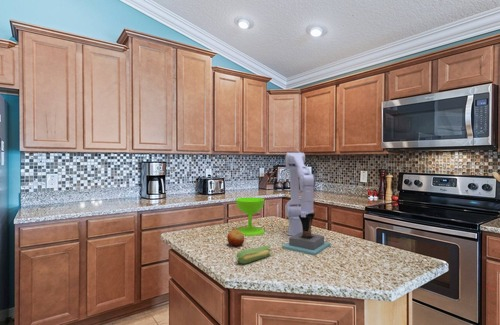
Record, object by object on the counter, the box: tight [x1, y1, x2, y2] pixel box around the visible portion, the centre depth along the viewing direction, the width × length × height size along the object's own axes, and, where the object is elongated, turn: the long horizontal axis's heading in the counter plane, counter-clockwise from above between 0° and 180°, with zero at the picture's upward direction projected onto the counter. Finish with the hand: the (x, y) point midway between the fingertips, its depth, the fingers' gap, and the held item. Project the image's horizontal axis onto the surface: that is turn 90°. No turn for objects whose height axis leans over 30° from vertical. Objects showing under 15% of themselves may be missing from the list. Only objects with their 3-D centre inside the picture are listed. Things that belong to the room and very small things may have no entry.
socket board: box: [281, 232, 332, 256], centre depth 133 cm, size 18×16×4 cm
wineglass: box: [235, 197, 265, 237], centre depth 160 cm, size 16×16×18 cm
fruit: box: [226, 229, 245, 248], centre depth 136 cm, size 8×8×8 cm
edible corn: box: [235, 244, 272, 265], centre depth 117 cm, size 5×20×5 cm
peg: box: [302, 220, 312, 236], centre depth 133 cm, size 4×4×8 cm
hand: (306, 230), depth 133 cm, fingers closed on peg, 4 cm apart
